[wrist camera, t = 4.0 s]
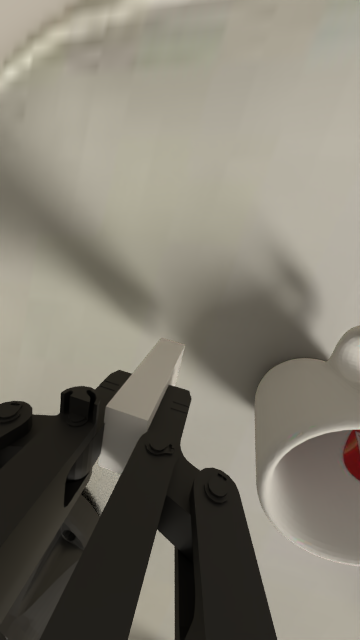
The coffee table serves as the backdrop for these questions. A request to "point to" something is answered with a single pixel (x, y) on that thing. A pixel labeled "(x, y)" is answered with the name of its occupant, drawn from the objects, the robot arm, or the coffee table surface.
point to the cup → (312, 451)
